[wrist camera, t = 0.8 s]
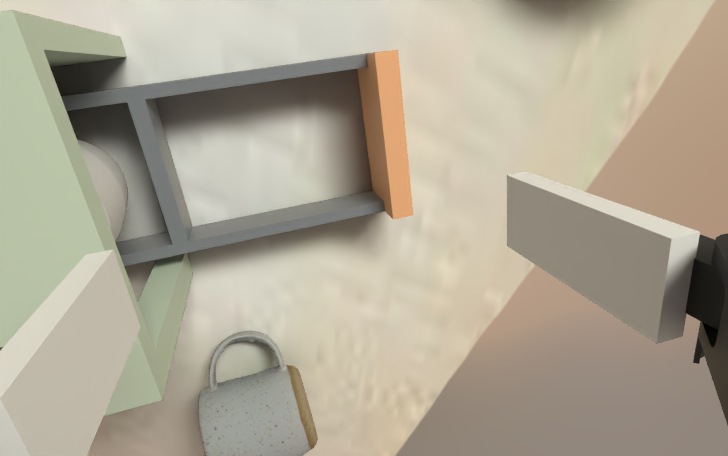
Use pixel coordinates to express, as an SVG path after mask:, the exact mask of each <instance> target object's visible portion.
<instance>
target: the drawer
mask: <svg viewBox="0 0 728 456" xmlns="http://www.w3.org/2000/svg"><path fill="white" fill-rule="evenodd" d="M350 69H357V70H358V78H359V85H360V93H361V101H362V109H363V117H364V125H365V133H366V141H367V149H368V157H369V165H370V172H371V180H372V188H373V191H368V192H363V193H358V194H353V195H348V196H343V197H338V198H334V199H329V200H324V201H319V202H314V203H309V204H304V205H299V206H294V207H289V208H284V209H279V210H274V211H269V212H264V213H259V214H254V215H249V216H244V217H240V218H235V219H230V220H225V221H220V222H215V223H210V224H205V225H200V226H195V227H192V223H191V220H190V217H189V213H188V210H187V206H186V203H185V200H184V196H183V193H182V190H181V186H180V183H179V179H178V176H177V173H176V169H175V166H174V162H173V159H172V156H171V152H170V149H169V146H168V142H167V139H166V135H165V132H164V129H163V125H162V122H161V119H160V115H159V112H158V108H157V105H156V102H155V98H159V97H166V96H172V95H179V94H186V93H193V92H200V91H207V90H213V89H220V88H227V87H234V86H241V85H247V84H254V83H261V82H268V81H275V80H282V79H288V78H295V77H302V76H309V75H316V74H323V73H329V72H336V71H343V70H350ZM61 98H62V101H63V103H64V106H65V109H66V111H70V110H77V109H84V108H90V107H97V106H104V105H111V104H118V103H125V102H127V103H128V106H129V109H130V113H131V116H132V119H133V122H134V125H135V128H136V131H137V135H138V138H139V141H140V144H141V147H142V150H143V153H144V156H145V160H146V163H147V166H148V169H149V172H150V175H151V178H152V181H153V185H154V188H155V191H156V194H157V197H158V200H159V203H160V206H161V210H162V213H163V216H164V219H165V222H166V225H167V228H168V232H165V233H160V234H155V235H150V236H146V237H141V238H136V239H131V240H126V241H121V242H116V246H117V248H118V251H119V254H120V256H121V259H122V262H123V265H124V266H128V265H133V264H138V263H142V262H147V261H152V260H156V259H161V258H166V257H171V256H175V255H180V254H185V253H189V252H194V251H199V250H204V249H208V248H213V247H218V246H222V245H227V244H232V243H236V242H241V241H246V240H251V239H255V238H260V237H265V236H269V235H274V234H279V233H284V232H288V231H293V230H298V229H302V228H307V227H312V226H317V225H321V224H326V223H331V222H335V221H340V220H345V219H349V218H354V217H359V216H364V215H368V214H373V213H378V212H382V211H385V212H386V213H387V214H388V215H389V216H390V217H391V218H392V219H397V218H402V217H407V216H411V215H413V208H412V197H411V187H410V176H409V165H408V154H407V143H406V133H405V122H404V111H403V100H402V89H401V79H400V68H399V57H398V50H392V51H383V52H374V53H367V54H360V55H353V56H346V57H339V58H332V59H324V60H317V61H310V62H303V63H296V64H289V65H282V66H275V67H267V68H260V69H253V70H246V71H239V72H232V73H225V74H218V75H210V76H203V77H196V78H189V79H182V80H175V81H168V82H161V83H154V84H146V85H139V86H132V87H125V88H118V89H111V90H104V91H97V92H89V93H82V94H75V95H68V96H61Z"/></svg>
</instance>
